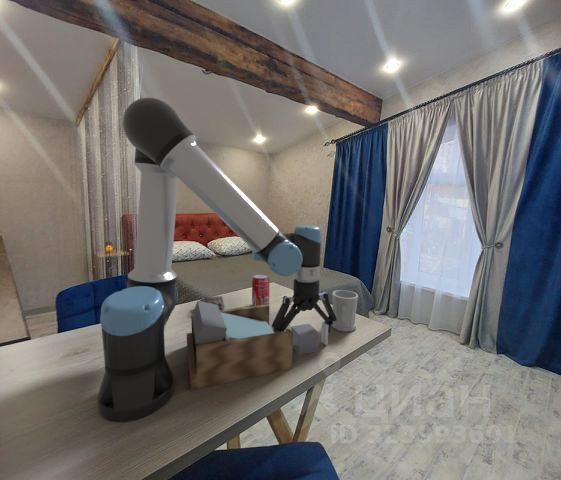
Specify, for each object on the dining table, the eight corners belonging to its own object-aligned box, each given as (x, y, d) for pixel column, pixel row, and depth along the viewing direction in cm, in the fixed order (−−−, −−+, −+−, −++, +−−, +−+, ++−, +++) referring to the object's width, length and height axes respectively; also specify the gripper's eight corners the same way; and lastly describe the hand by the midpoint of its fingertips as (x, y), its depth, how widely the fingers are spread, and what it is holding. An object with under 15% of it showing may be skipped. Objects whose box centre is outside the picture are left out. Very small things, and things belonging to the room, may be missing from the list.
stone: (292, 335, 91) (293, 327, 91) (262, 339, 88) (262, 331, 87) (278, 316, 105) (279, 310, 105) (252, 319, 102) (252, 313, 101)
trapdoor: (196, 345, 64) (203, 325, 64) (191, 316, 79) (197, 299, 79) (281, 358, 73) (287, 340, 72) (262, 329, 88) (267, 315, 88)
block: (298, 355, 79) (299, 335, 78) (290, 344, 84) (291, 326, 83) (317, 351, 81) (318, 332, 80) (308, 341, 86) (308, 323, 85)
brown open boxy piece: (190, 390, 63) (189, 350, 62) (186, 345, 82) (185, 314, 80) (291, 368, 72) (292, 332, 71) (267, 332, 91) (267, 304, 90)
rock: (197, 307, 111) (197, 292, 110) (216, 303, 116) (216, 288, 115) (212, 319, 101) (212, 302, 100) (232, 313, 106) (232, 297, 105)
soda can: (272, 305, 115) (273, 275, 113) (262, 311, 109) (262, 279, 107) (258, 301, 119) (259, 272, 117) (248, 307, 112) (248, 276, 111)
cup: (364, 332, 93) (367, 298, 91) (342, 336, 90) (344, 301, 88) (346, 319, 103) (348, 288, 101) (325, 322, 99) (327, 291, 98)
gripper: (270, 287, 71) (269, 361, 74) (350, 278, 80) (346, 345, 83) (261, 279, 78) (261, 347, 81) (336, 272, 87) (333, 334, 90)
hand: (304, 347), depth 82 cm, fingers open, 13 cm apart
